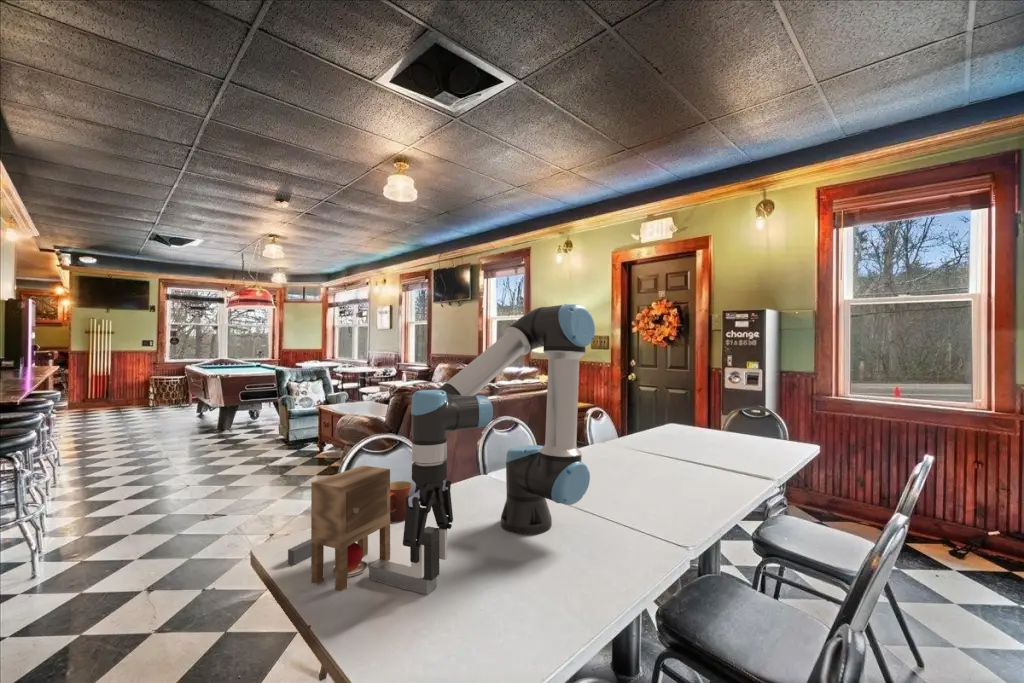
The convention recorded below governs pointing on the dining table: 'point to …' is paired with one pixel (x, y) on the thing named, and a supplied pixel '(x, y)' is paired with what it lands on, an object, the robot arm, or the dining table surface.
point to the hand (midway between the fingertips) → (429, 566)
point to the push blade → (402, 573)
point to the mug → (399, 499)
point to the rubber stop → (299, 553)
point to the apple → (354, 560)
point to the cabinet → (348, 517)
